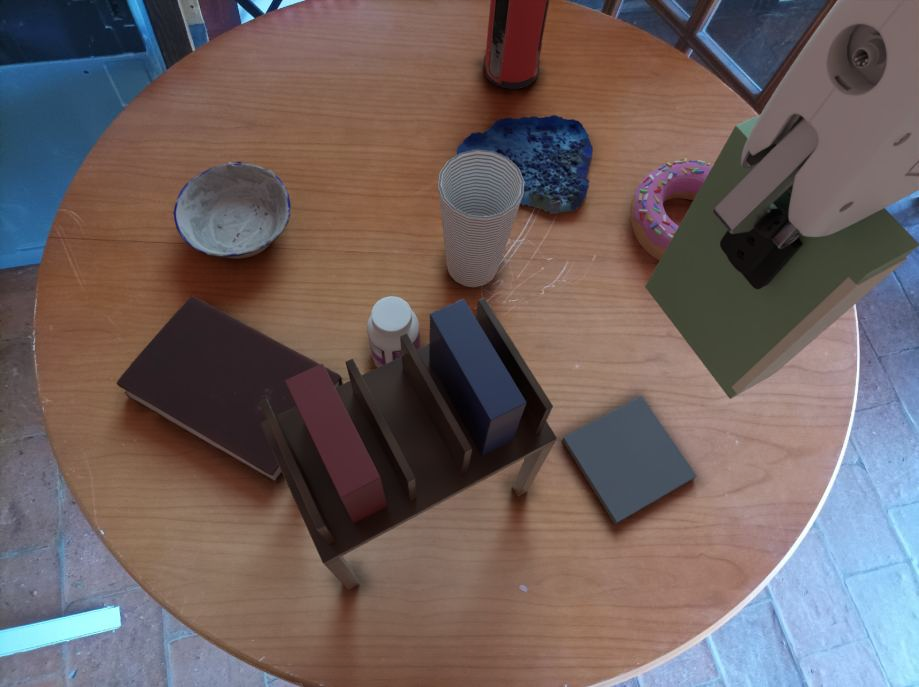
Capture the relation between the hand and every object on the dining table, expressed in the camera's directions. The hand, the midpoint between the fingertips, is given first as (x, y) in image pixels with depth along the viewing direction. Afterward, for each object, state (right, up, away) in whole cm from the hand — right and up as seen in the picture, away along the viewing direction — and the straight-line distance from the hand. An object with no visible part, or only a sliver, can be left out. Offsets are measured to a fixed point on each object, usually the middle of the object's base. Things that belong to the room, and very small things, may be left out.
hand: (771, 249), depth 36 cm
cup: (-15, +4, +46) cm, 49 cm away
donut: (+12, +9, +50) cm, 52 cm away
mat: (+1, -17, +37) cm, 41 cm away
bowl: (-42, +9, +47) cm, 64 cm away
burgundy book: (-25, -14, +17) cm, 33 cm away
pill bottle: (-23, -6, +41) cm, 48 cm away
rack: (-21, -19, +35) cm, 45 cm away
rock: (-8, +18, +53) cm, 57 cm away
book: (-40, -10, +39) cm, 56 cm away
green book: (0, -4, +9) cm, 10 cm away
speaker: (-9, +33, +60) cm, 69 cm away
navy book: (-15, -9, +20) cm, 27 cm away
